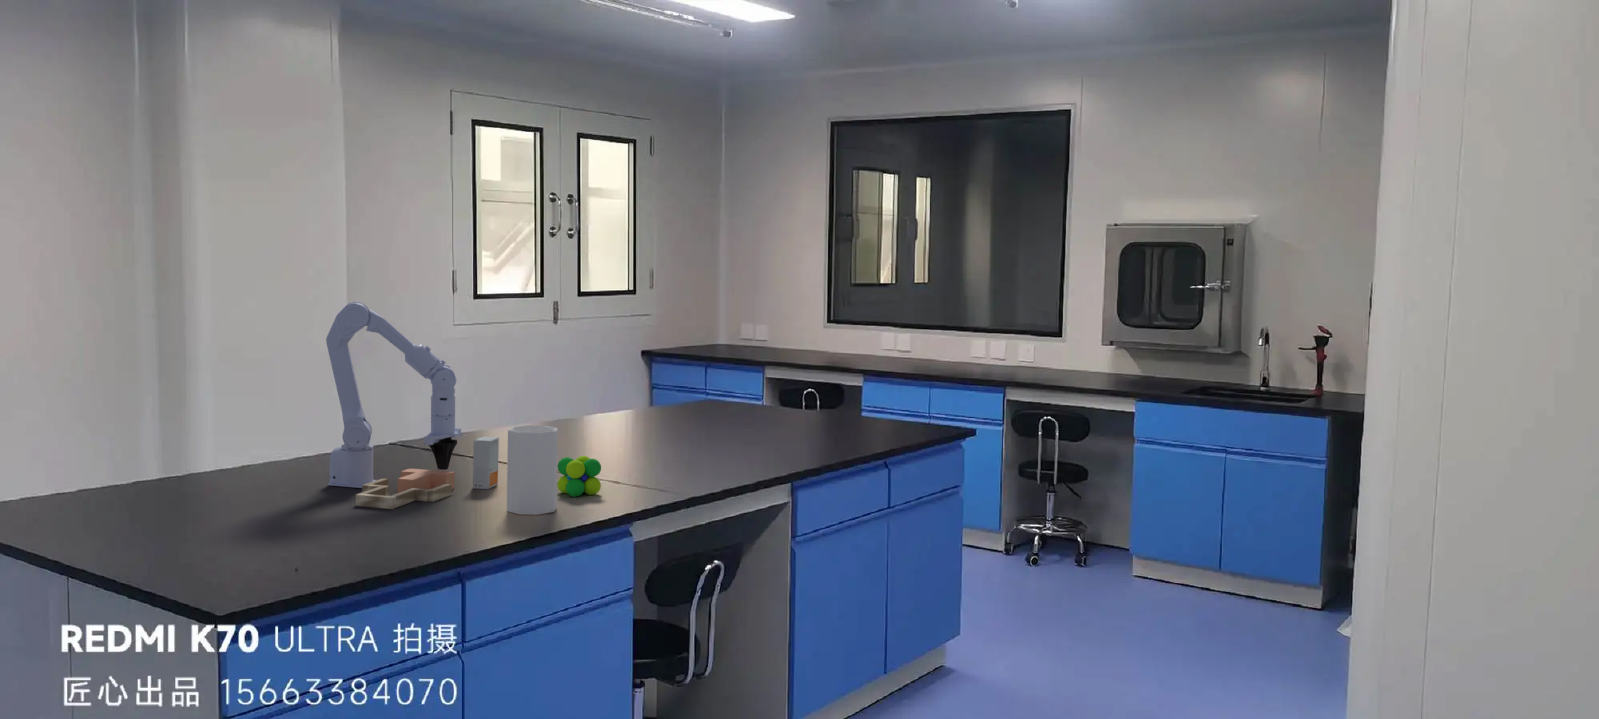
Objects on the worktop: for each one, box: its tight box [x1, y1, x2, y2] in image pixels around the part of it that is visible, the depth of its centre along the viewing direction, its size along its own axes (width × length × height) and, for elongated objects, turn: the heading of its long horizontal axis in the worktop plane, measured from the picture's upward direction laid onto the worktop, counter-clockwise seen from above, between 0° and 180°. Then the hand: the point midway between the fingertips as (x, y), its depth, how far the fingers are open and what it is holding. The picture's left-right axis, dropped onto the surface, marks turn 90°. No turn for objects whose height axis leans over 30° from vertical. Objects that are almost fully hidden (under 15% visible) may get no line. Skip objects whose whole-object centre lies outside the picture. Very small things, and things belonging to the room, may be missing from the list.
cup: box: [506, 424, 559, 516], centre depth 256 cm, size 11×11×18 cm
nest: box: [355, 478, 453, 510], centre depth 263 cm, size 18×18×2 cm
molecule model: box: [557, 455, 602, 498], centre depth 276 cm, size 9×9×9 cm
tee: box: [397, 468, 456, 493], centre depth 272 cm, size 12×12×4 cm
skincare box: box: [472, 436, 500, 490], centre depth 279 cm, size 6×4×12 cm
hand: (442, 469), depth 283 cm, fingers closed
